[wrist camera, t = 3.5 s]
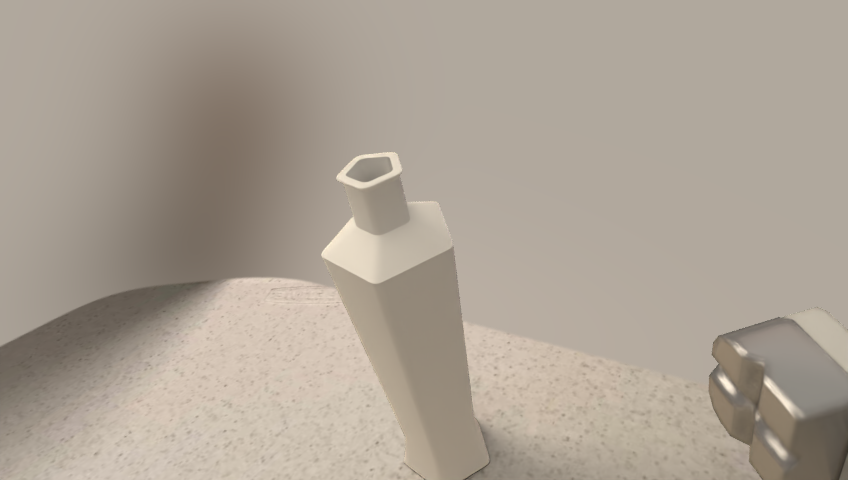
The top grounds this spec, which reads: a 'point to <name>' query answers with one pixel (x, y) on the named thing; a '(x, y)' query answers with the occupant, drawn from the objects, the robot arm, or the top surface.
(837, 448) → the robot arm
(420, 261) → the white faceted vase
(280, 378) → the top surface
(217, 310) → the top surface
